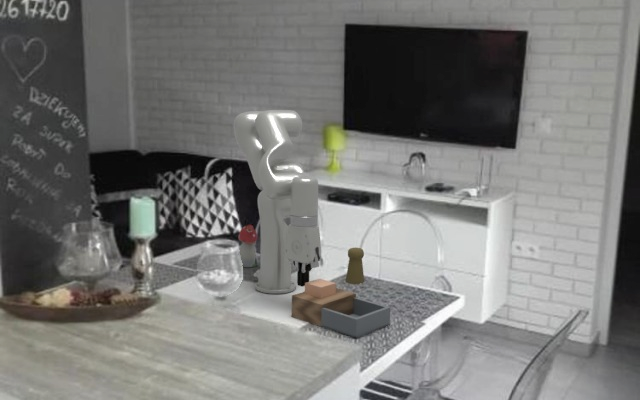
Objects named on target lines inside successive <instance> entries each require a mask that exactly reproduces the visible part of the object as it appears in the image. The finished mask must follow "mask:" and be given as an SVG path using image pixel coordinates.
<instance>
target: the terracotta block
mask: <svg viewBox="0 0 640 400" xmlns="http://www.w3.org/2000/svg"><path fill="white" fill-rule="evenodd" d="M336 286H337V283H336V282H333V281H329V280H325V279H322V278H317V279H313V280H311V281H310V280H309V282H306V283H305V286H304V292H305V294H309V295H312V296H315V297H319V298H323V297H326V296H329V295H333V294H336V288H337V287H336Z"/></svg>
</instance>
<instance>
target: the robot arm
mask: <svg viewBox="0 0 640 400" xmlns="http://www.w3.org/2000/svg"><path fill="white" fill-rule="evenodd" d="M302 120H303V119H302V118H301V116H300V115H299V113H298V112H296V110H293V109H292V110H290V109H271V110H270V109H267V110H257V111H256V110H252V111H250V110H249V111H245V112H241V113H239V114H237V115H236V117H235V118H234V120H233V133H234V138H235V141H236V144H237V146H238V148H239V150H240V151H241V152H242V154H243V155H244V157H245V159H246V161H247V164H248V166H249V169H250V172H251V176H252V179H253V181H254V183H255V186H256V187H257V189H259V190H260V192H259V193H258V195H257V209H258V215H259V225H260V230H259V231H260V248H259V250H260V253H259V255H260V256H259V257H260V260H259V261H260V267H259V269H257V270H256V271H255V272H254V273H253V277H254V278H257V281H256V283H255V284H254V288H255V290H257V291H258V292H260V293H264V294H271V295H272V294H274V295H276V294H277V295H278V294H279V295H281V294H286V293H291V292H293V291H294V290H296V288H297V286H300V287H305V283H306V282H310V272H311V271H312V269H315V268H318V267H319V266H320V265H319V261H320V260H321V257H322V254H321V253H322V245H321V244H322V243H321V233H320V228H319V226H318V225H319V224H318V223H319V221H318V219H319V218H318V217H319V212H318V210H319V181H318V179H317V178H316V177H315V176H311V175H310V174H309V173H307V172H306V171H305V170H304V167H303V166H302V164H300V162H298V161H296V160H287V159H288V158H289V157H290V156H291V155H292V154H293V151H294V143H293V142H292V140H291V138H297V137H299V136H301V134H302V130H303V121H302ZM285 219H289V220H290V223H289V224H287V223H286V222H285ZM292 264H293V265H294V268H295V271H296V272H297V275H296V276H297V278H296V279H297V280H296V281H297V282H296V283H295V282H294V281H292Z"/></svg>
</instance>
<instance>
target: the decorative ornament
mask: <svg viewBox="0 0 640 400" xmlns="http://www.w3.org/2000/svg"><path fill="white" fill-rule="evenodd" d="M238 240H239V241H240V242H241V245H240V248H239V250H240V255H241V260H242V263H243V268H254V267H257V266H258V258H257V256H256V255H257V254H256V247H255V245H254V244H255V243H256V241H257V240H258V234H257V232H256V229H254V226H253V225H252V224H247V225H244V226H243V227H242V228H241V229H240V231H239V233H238Z"/></svg>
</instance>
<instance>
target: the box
mask: <svg viewBox="0 0 640 400" xmlns="http://www.w3.org/2000/svg"><path fill="white" fill-rule="evenodd" d="M388 325H389V326H390V325H391V307H390V306H387V305H384V304H381V303H377V302H373V301H370V300H367V299H364V298H360V297H357V296H356V297H355V298H354V299H353V314H351V315H346V314H343V313H340V312H337V311H333V310H330V309H327V308H322V316H321V326H320V327H322V328H325V329H327V330H330V331H334V332H337V333H338V334H342V335H344V336H347V337H349V338H350V337H351V338H354V339H359V338H361V337H364V336H367V335H369V334H372V333H374V332H376V331H378V330H381V329H385V328H387V327H389V326H388ZM386 326H387V327H386Z"/></svg>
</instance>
